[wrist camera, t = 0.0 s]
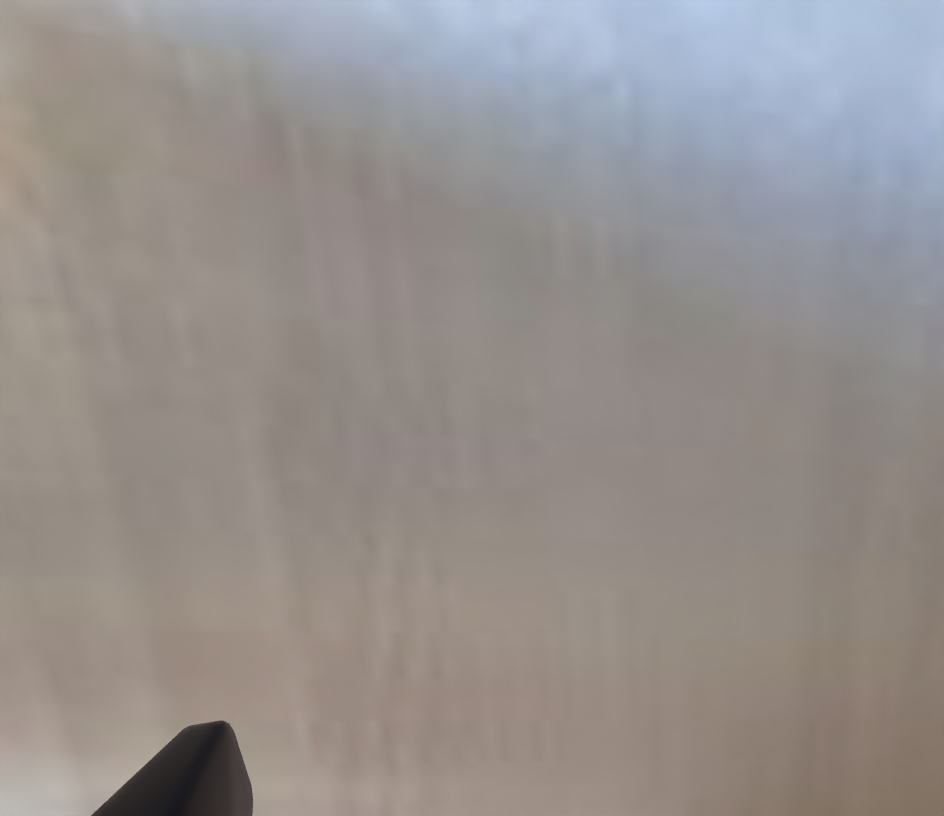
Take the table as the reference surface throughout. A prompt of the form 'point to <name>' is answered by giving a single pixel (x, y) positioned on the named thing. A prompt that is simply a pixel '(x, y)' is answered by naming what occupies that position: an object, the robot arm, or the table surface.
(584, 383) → the table surface
